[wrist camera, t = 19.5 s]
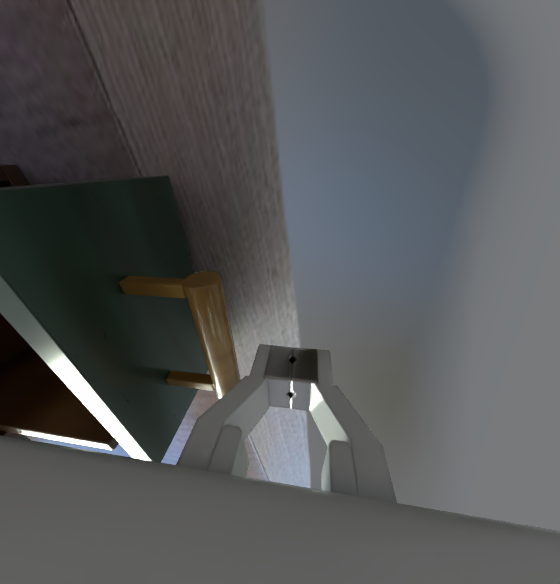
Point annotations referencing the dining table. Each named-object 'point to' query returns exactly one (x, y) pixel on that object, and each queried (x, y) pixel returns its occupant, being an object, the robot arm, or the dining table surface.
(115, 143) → the dining table surface
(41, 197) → the drawer
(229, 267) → the dining table surface
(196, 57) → the dining table surface
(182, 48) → the dining table surface
